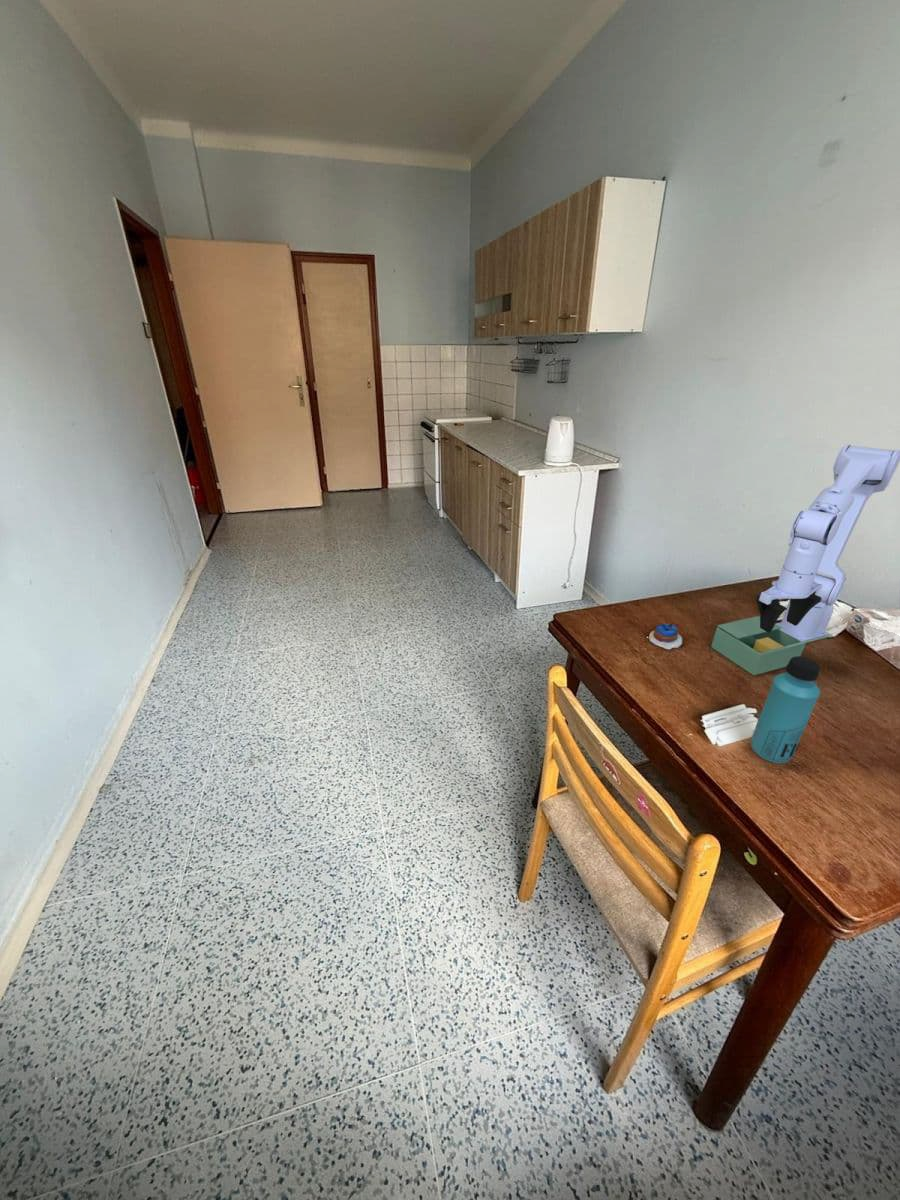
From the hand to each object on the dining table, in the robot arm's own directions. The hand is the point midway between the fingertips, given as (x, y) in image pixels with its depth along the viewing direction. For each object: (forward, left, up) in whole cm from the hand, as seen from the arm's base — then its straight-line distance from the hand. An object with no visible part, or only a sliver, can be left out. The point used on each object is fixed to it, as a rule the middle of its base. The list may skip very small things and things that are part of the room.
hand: (778, 626), depth 102 cm
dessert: (+15, -15, -10) cm, 23 cm away
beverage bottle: (+24, +21, -10) cm, 33 cm away
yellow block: (0, 0, -9) cm, 9 cm away
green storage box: (0, -3, -10) cm, 10 cm away
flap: (0, +5, -1) cm, 5 cm away
